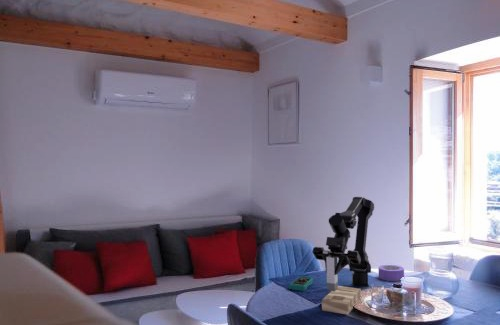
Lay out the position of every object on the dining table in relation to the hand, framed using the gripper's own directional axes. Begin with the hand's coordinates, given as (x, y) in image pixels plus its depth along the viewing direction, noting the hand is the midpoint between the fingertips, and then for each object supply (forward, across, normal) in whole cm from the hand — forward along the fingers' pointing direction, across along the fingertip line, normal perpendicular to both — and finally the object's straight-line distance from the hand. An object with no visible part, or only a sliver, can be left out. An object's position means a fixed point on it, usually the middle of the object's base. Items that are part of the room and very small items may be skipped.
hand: (330, 273), depth 164 cm
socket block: (+5, +2, +14) cm, 15 cm away
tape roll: (-28, +9, +48) cm, 56 cm away
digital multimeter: (-4, -23, +24) cm, 34 cm away
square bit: (+4, 0, +6) cm, 7 cm away
